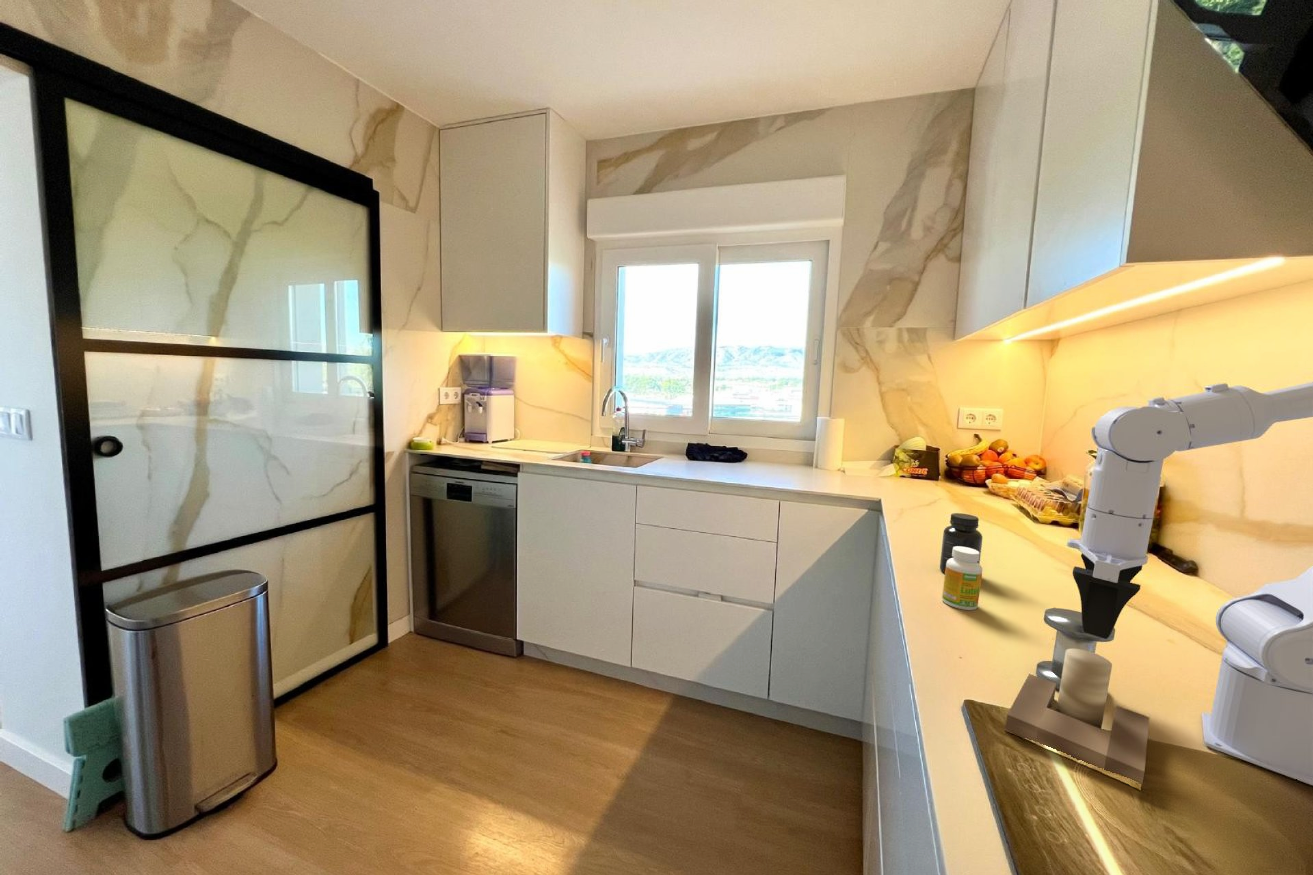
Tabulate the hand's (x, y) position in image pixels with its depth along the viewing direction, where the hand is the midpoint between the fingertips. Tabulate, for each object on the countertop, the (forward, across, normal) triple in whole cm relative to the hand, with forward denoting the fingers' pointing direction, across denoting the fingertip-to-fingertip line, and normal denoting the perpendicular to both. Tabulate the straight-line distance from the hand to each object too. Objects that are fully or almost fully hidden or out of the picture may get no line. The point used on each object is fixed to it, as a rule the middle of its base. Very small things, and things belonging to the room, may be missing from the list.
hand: (1098, 624), depth 61 cm
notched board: (+10, +7, 0) cm, 13 cm away
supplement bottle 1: (+11, -38, -23) cm, 46 cm away
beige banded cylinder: (+10, +5, 0) cm, 12 cm away
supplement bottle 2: (+11, -21, -18) cm, 30 cm away
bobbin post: (+10, -5, -2) cm, 12 cm away
